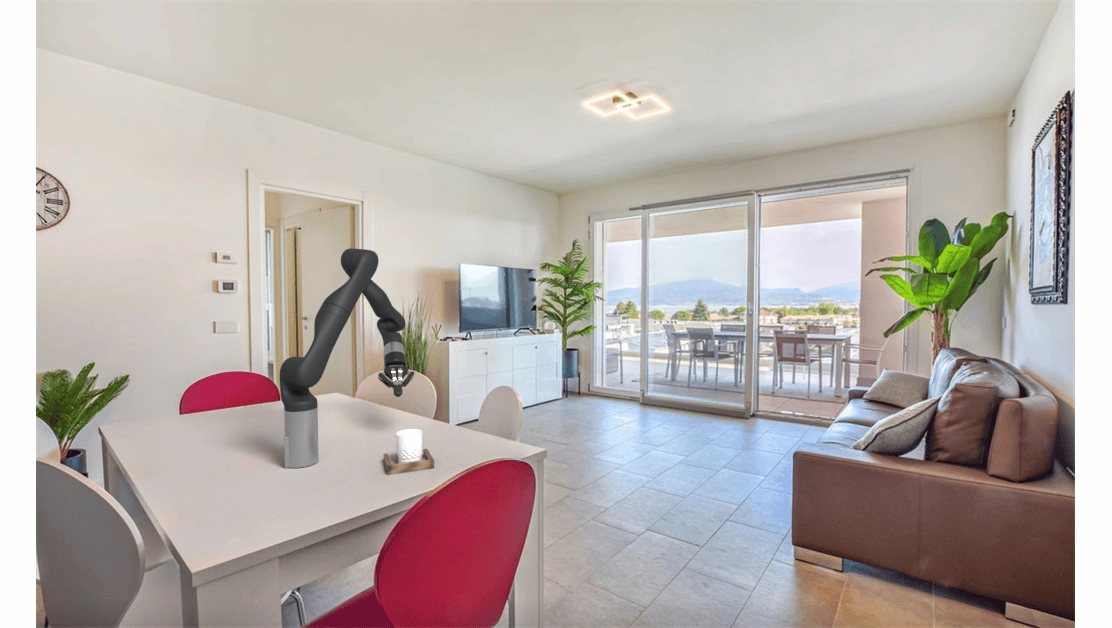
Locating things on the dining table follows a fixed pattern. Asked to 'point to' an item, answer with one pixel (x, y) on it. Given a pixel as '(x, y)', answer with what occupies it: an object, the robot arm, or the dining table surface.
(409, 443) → the white cup
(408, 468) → the wooden bracket
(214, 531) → the dining table surface
